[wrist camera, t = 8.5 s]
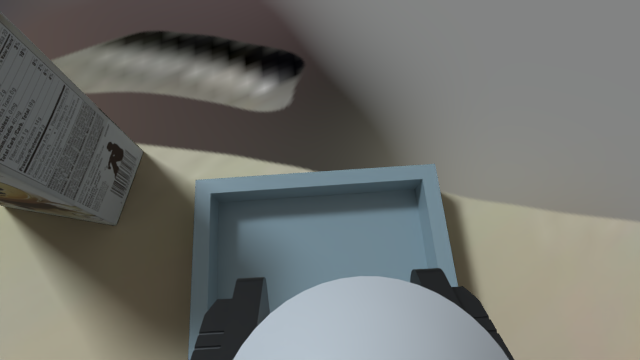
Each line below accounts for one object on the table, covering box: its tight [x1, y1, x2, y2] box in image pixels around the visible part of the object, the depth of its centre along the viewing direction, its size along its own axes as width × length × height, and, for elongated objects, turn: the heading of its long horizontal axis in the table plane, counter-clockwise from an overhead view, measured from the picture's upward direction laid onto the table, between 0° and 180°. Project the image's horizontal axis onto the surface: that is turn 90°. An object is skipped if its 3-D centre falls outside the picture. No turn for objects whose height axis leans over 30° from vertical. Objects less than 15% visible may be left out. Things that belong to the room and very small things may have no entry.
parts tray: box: [188, 164, 458, 360], centre depth 24 cm, size 16×16×3 cm
